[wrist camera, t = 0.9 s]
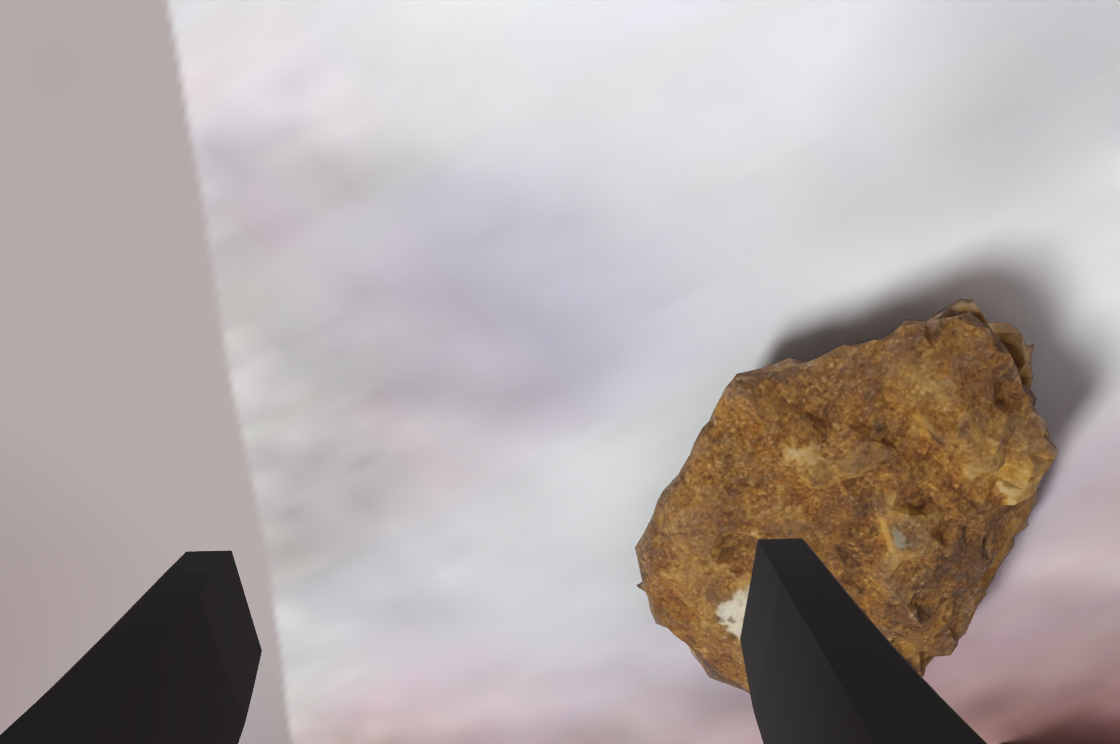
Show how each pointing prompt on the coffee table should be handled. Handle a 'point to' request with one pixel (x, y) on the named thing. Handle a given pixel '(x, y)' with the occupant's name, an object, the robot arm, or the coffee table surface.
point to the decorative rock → (857, 485)
